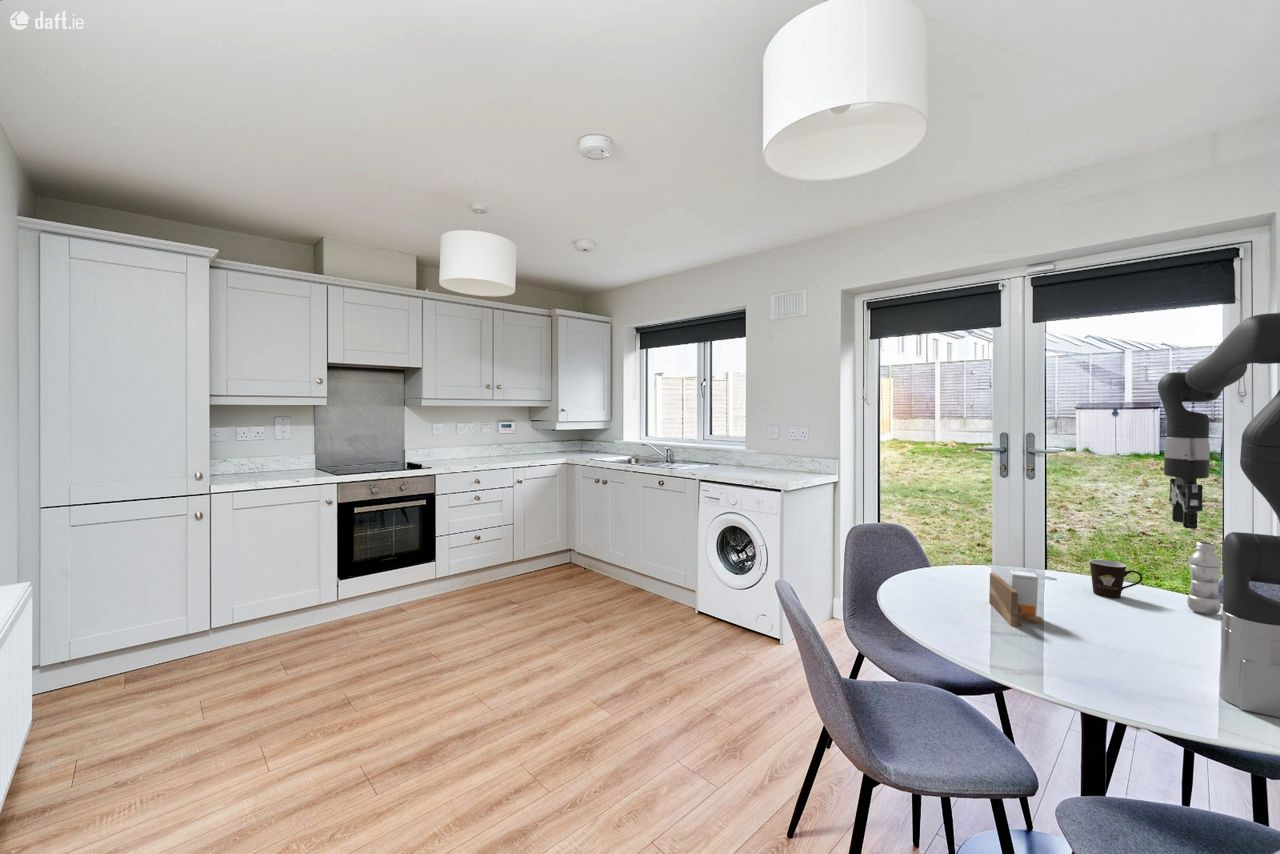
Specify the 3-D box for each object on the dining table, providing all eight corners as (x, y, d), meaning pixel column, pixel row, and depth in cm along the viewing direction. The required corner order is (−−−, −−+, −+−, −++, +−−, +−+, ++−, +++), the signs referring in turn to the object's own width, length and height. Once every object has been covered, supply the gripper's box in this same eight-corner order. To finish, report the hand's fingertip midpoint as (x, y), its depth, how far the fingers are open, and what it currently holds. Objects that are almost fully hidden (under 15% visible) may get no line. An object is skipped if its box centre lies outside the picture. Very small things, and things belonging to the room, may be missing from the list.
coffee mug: (1082, 592, 171) (1083, 561, 170) (1097, 588, 174) (1098, 558, 174) (1128, 604, 160) (1129, 571, 160) (1143, 600, 164) (1144, 567, 163)
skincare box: (1010, 616, 150) (1011, 574, 150) (1007, 611, 154) (1008, 569, 154) (1037, 620, 148) (1038, 577, 147) (1033, 615, 151) (1034, 572, 151)
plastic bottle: (1227, 618, 150) (1230, 546, 149) (1198, 616, 151) (1200, 545, 151) (1208, 609, 156) (1210, 540, 155) (1180, 608, 157) (1182, 539, 157)
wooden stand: (1022, 605, 159) (1023, 575, 158) (1048, 629, 141) (1049, 595, 141) (989, 602, 161) (990, 572, 161) (1010, 625, 144) (1011, 591, 144)
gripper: (1156, 454, 136) (1154, 518, 136) (1173, 458, 124) (1171, 528, 124) (1198, 455, 132) (1196, 521, 132) (1220, 459, 120) (1217, 532, 120)
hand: (1184, 525), depth 128 cm, fingers open, 8 cm apart
